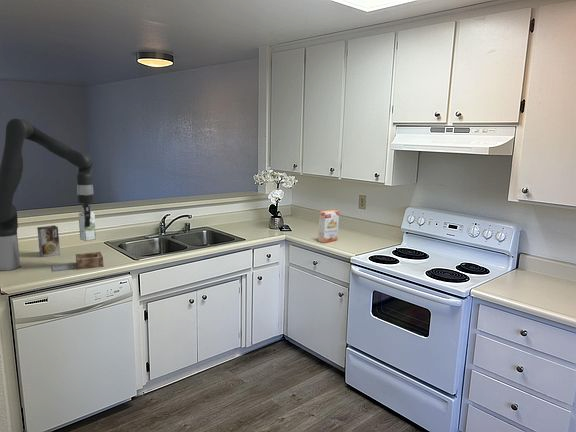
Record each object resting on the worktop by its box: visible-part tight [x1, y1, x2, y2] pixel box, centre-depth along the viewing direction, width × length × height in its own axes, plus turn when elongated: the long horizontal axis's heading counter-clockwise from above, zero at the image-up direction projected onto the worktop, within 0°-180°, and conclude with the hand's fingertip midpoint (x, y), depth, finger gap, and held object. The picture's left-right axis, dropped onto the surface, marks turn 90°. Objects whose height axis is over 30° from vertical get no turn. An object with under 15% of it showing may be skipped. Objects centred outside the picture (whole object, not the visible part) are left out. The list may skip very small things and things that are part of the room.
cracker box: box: [317, 209, 340, 244], centre depth 283 cm, size 14×6×21 cm, turn 131°
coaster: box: [52, 263, 74, 273], centre depth 212 cm, size 9×9×1 cm
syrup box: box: [78, 211, 97, 242], centre depth 215 cm, size 6×6×14 cm
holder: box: [75, 251, 104, 270], centre depth 218 cm, size 12×12×5 cm
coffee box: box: [36, 224, 61, 258], centre depth 234 cm, size 9×6×16 cm
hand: (87, 225), depth 215 cm, fingers closed on syrup box, 7 cm apart
